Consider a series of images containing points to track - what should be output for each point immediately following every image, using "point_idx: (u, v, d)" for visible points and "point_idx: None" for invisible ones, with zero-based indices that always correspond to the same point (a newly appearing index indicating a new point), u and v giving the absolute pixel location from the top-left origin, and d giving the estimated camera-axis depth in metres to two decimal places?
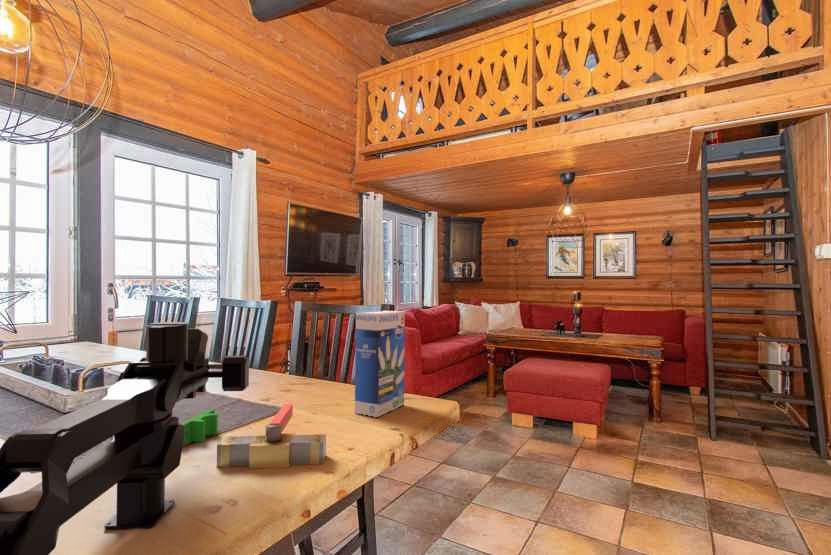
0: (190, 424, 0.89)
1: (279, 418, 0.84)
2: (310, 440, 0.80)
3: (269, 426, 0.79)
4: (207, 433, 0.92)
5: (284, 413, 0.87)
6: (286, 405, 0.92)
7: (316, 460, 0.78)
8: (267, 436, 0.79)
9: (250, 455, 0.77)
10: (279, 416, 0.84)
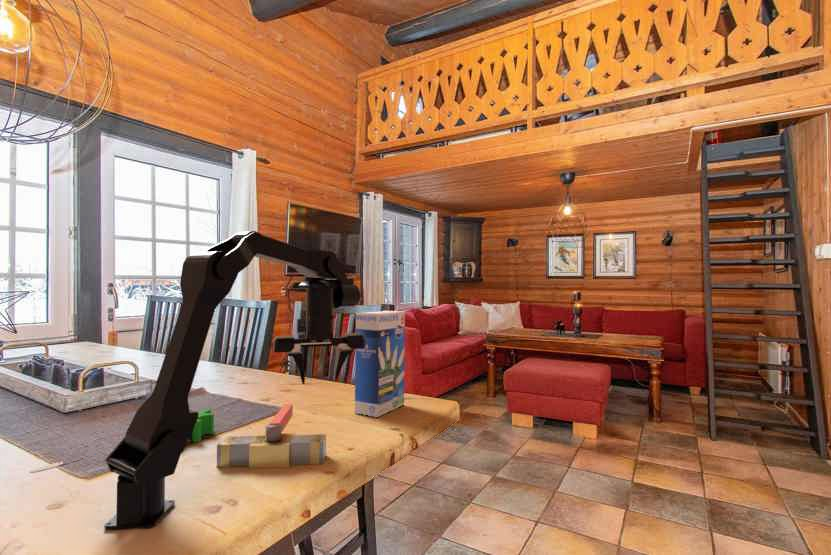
0: None
1: (279, 418, 0.84)
2: (310, 440, 0.80)
3: (269, 426, 0.79)
4: (203, 433, 0.93)
5: (284, 413, 0.87)
6: (286, 405, 0.92)
7: (316, 460, 0.78)
8: (267, 436, 0.79)
9: (250, 455, 0.77)
10: (279, 416, 0.84)
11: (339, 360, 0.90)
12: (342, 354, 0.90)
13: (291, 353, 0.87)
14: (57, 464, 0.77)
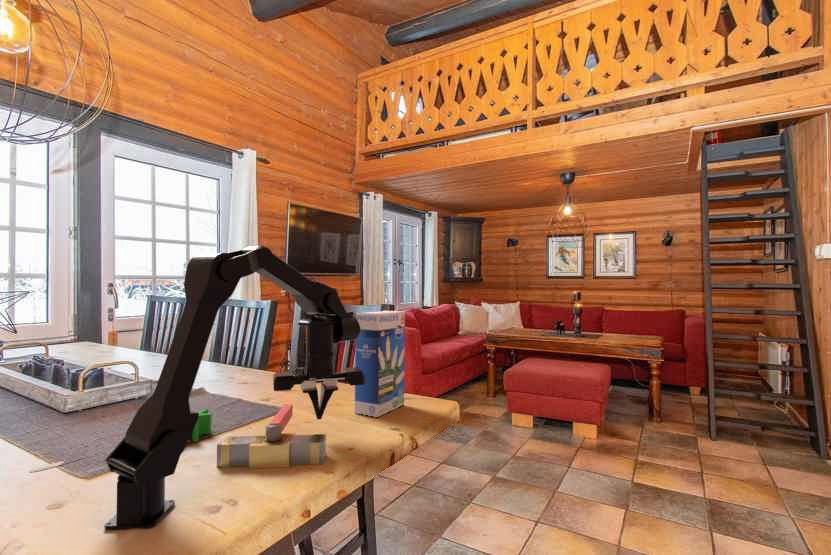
0: None
1: (279, 418, 0.84)
2: (310, 440, 0.80)
3: (269, 426, 0.79)
4: (200, 433, 0.93)
5: (284, 413, 0.87)
6: (286, 405, 0.92)
7: (316, 460, 0.78)
8: (267, 436, 0.79)
9: (250, 455, 0.77)
10: (279, 416, 0.84)
11: (324, 398, 0.89)
12: (326, 392, 0.89)
13: (306, 390, 0.88)
14: (57, 464, 0.77)
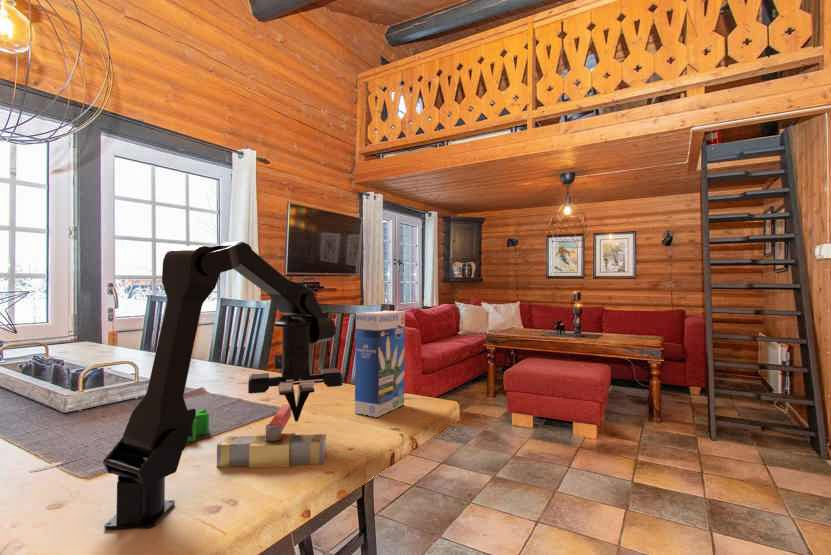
0: None
1: (279, 418, 0.84)
2: (310, 440, 0.80)
3: (269, 426, 0.79)
4: (198, 433, 0.93)
5: (283, 413, 0.87)
6: (285, 405, 0.92)
7: (316, 460, 0.78)
8: (267, 436, 0.79)
9: (250, 455, 0.77)
10: (278, 416, 0.84)
11: (299, 400, 0.88)
12: (302, 394, 0.87)
13: (283, 392, 0.86)
14: (57, 464, 0.77)
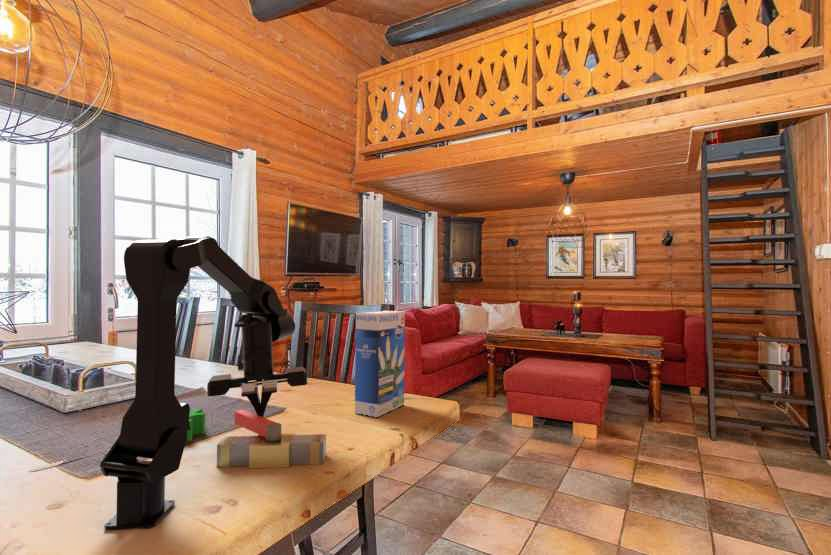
0: None
1: (264, 419, 0.83)
2: (310, 440, 0.80)
3: (272, 426, 0.79)
4: (194, 432, 0.93)
5: (257, 416, 0.85)
6: (240, 411, 0.88)
7: (316, 460, 0.78)
8: (272, 436, 0.79)
9: (250, 455, 0.77)
10: (260, 419, 0.83)
11: (262, 401, 0.85)
12: (264, 395, 0.85)
13: (245, 393, 0.84)
14: (56, 463, 0.77)
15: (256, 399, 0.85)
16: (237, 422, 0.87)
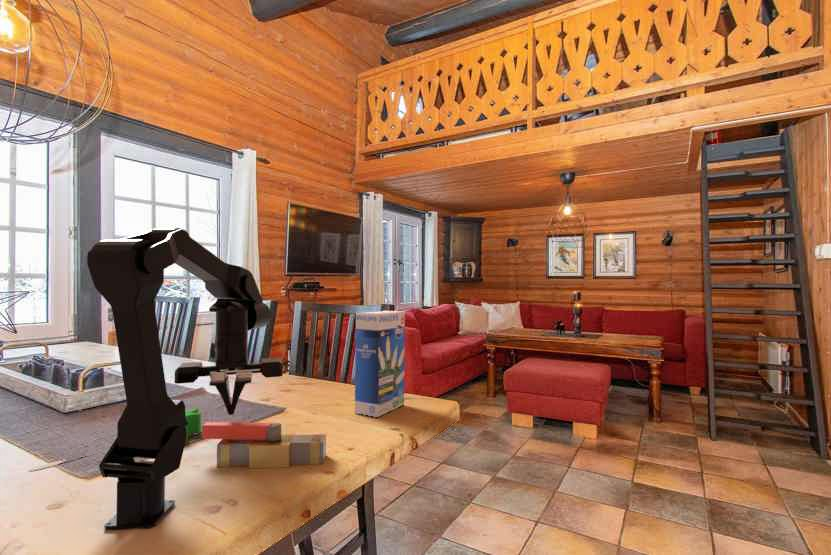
0: None
1: (254, 423, 0.80)
2: (310, 440, 0.80)
3: (275, 426, 0.79)
4: (190, 432, 0.93)
5: (239, 423, 0.81)
6: (208, 424, 0.80)
7: (316, 460, 0.78)
8: (278, 435, 0.79)
9: (250, 455, 0.77)
10: (249, 424, 0.80)
11: (234, 391, 0.81)
12: (237, 385, 0.80)
13: (214, 382, 0.79)
14: (56, 463, 0.78)
15: (225, 389, 0.80)
16: (208, 436, 0.79)
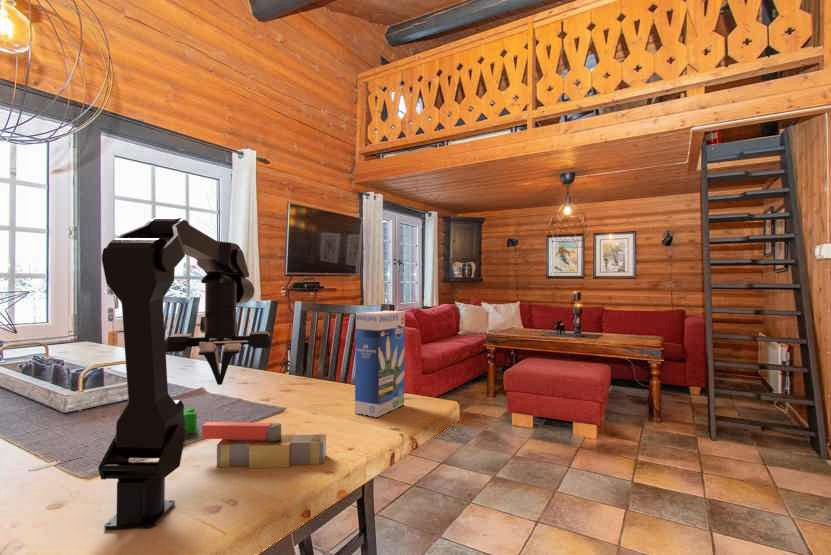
0: None
1: (254, 423, 0.80)
2: (310, 440, 0.80)
3: (275, 426, 0.79)
4: (186, 432, 0.93)
5: (239, 423, 0.81)
6: (208, 424, 0.80)
7: (316, 460, 0.78)
8: (278, 435, 0.79)
9: (250, 455, 0.77)
10: (249, 424, 0.80)
11: (223, 361, 0.83)
12: (225, 355, 0.83)
13: (202, 352, 0.82)
14: (55, 463, 0.78)
15: (214, 359, 0.82)
16: (208, 436, 0.79)
